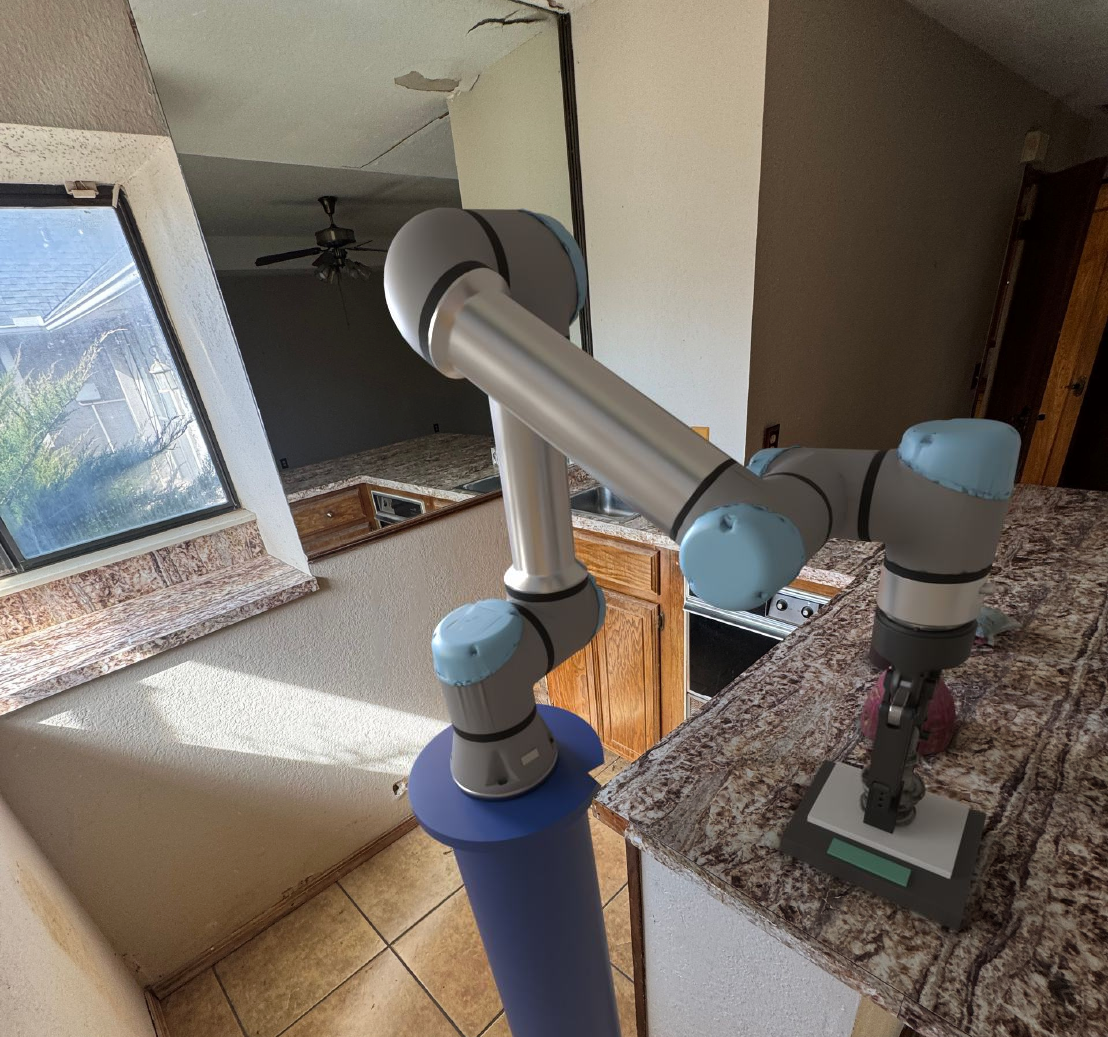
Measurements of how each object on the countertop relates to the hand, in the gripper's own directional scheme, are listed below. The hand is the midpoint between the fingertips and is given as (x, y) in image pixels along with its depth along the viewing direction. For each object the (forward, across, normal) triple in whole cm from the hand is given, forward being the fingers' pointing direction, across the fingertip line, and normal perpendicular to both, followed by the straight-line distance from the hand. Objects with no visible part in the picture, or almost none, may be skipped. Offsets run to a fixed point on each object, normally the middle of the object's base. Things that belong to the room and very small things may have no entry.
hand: (887, 805), depth 60 cm
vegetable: (+4, +18, +2) cm, 19 cm away
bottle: (+4, +34, +7) cm, 35 cm away
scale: (+4, -2, 0) cm, 4 cm away
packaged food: (+4, +48, 0) cm, 49 cm away
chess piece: (0, 0, 0) cm, 0 cm away
